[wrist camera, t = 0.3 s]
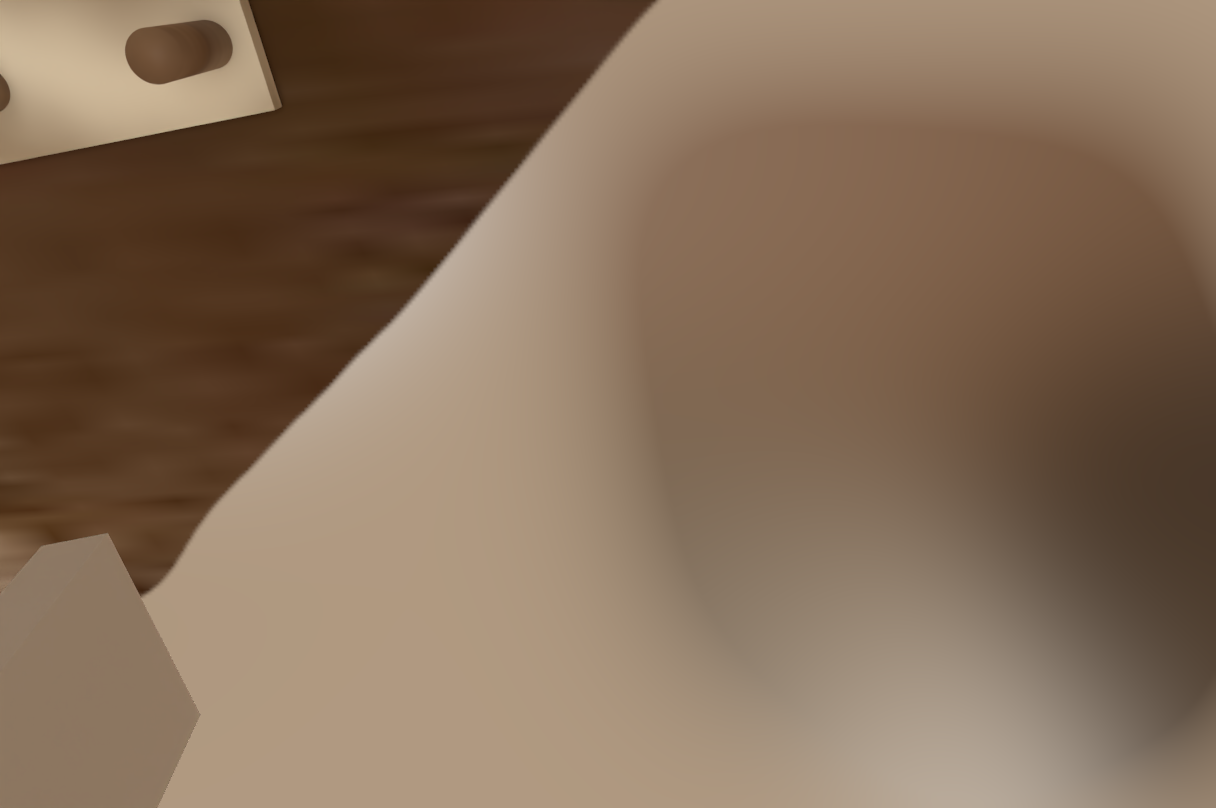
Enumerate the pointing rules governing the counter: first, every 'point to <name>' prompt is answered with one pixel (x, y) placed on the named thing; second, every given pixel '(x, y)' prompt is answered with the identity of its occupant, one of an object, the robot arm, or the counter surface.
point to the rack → (124, 70)
